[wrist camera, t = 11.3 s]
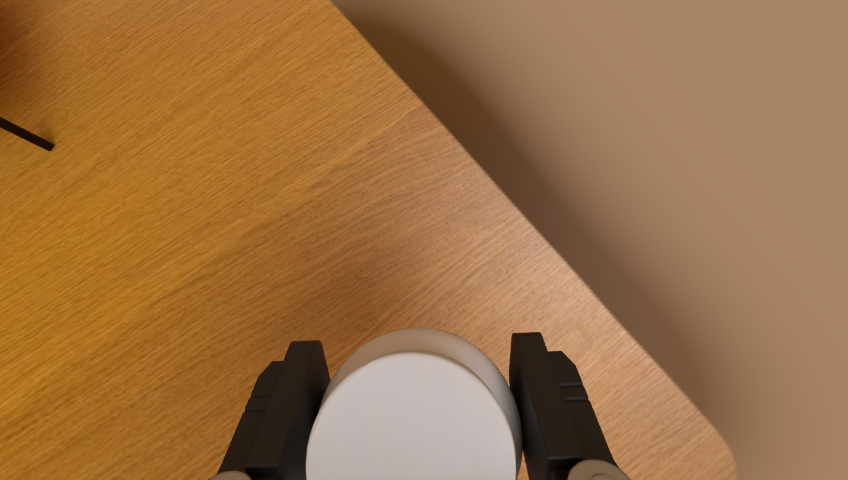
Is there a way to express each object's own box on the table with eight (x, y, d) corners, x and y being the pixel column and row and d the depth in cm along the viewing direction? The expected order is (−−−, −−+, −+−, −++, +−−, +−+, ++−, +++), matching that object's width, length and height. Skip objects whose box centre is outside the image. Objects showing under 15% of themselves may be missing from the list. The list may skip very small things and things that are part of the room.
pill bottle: (512, 455, 16) (599, 586, 7) (377, 496, 16) (303, 679, 7) (469, 318, 17) (500, 290, 9) (345, 354, 17) (249, 362, 8)
